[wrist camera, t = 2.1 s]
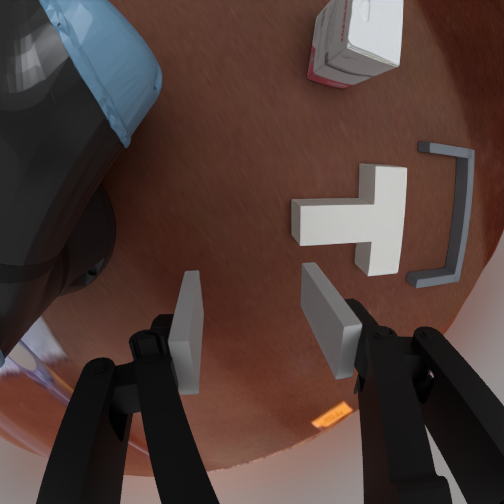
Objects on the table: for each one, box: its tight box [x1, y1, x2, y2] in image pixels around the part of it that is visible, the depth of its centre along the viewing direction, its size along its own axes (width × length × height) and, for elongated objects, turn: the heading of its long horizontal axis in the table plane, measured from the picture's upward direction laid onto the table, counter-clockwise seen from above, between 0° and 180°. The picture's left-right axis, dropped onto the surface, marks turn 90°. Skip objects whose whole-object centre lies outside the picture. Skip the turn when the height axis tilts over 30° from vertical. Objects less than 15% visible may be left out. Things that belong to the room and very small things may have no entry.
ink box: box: [307, 0, 403, 89], centre depth 22 cm, size 9×5×12 cm, turn 170°
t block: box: [291, 164, 407, 276], centre depth 32 cm, size 12×12×4 cm
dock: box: [406, 142, 474, 288], centre depth 34 cm, size 8×18×2 cm, turn 2°
